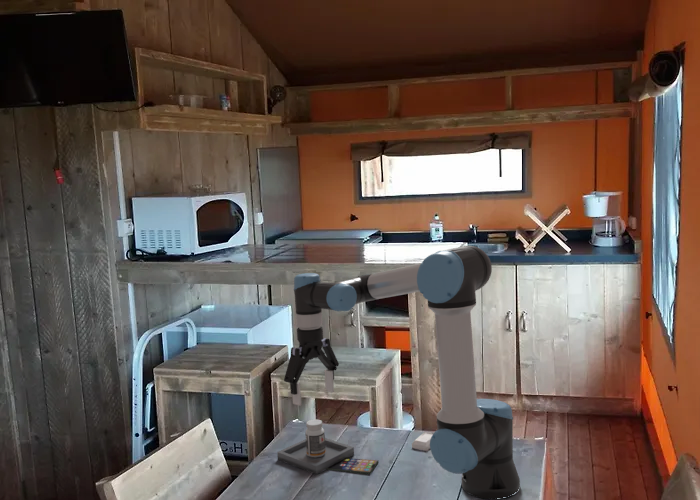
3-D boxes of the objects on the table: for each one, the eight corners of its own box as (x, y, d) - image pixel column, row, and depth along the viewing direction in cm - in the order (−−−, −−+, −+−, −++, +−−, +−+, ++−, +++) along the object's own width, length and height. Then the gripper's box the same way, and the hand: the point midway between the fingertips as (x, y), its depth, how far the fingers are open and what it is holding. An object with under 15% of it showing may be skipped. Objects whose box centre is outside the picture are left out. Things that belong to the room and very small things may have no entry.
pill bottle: (329, 452, 206) (327, 420, 205) (318, 459, 202) (316, 427, 200) (313, 448, 209) (312, 417, 208) (302, 456, 205) (300, 423, 203)
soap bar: (411, 449, 210) (411, 440, 209) (424, 438, 217) (424, 430, 217) (426, 452, 207) (426, 443, 207) (439, 441, 215) (439, 433, 214)
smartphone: (330, 458, 205) (329, 454, 205) (378, 463, 201) (378, 459, 200) (320, 470, 198) (320, 466, 198) (370, 476, 193) (370, 472, 193)
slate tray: (354, 455, 206) (353, 447, 206) (316, 474, 194) (315, 466, 194) (315, 442, 217) (315, 434, 217) (277, 459, 205) (277, 452, 205)
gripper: (329, 317, 212) (333, 384, 215) (268, 334, 194) (273, 407, 196) (348, 319, 207) (351, 388, 210) (286, 337, 189) (291, 412, 191)
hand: (313, 397), depth 203 cm, fingers open, 13 cm apart
